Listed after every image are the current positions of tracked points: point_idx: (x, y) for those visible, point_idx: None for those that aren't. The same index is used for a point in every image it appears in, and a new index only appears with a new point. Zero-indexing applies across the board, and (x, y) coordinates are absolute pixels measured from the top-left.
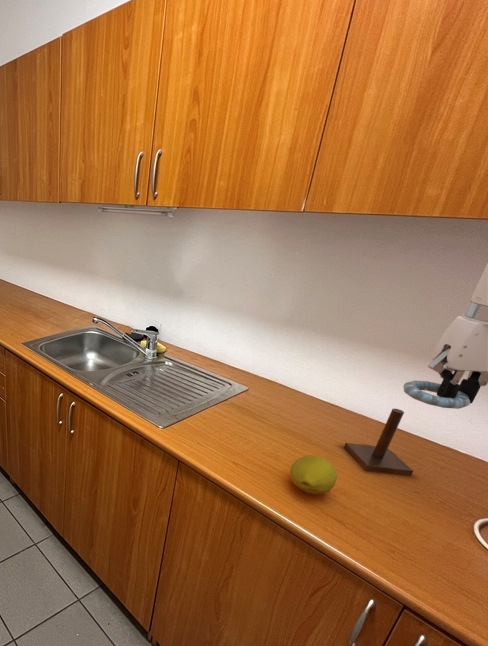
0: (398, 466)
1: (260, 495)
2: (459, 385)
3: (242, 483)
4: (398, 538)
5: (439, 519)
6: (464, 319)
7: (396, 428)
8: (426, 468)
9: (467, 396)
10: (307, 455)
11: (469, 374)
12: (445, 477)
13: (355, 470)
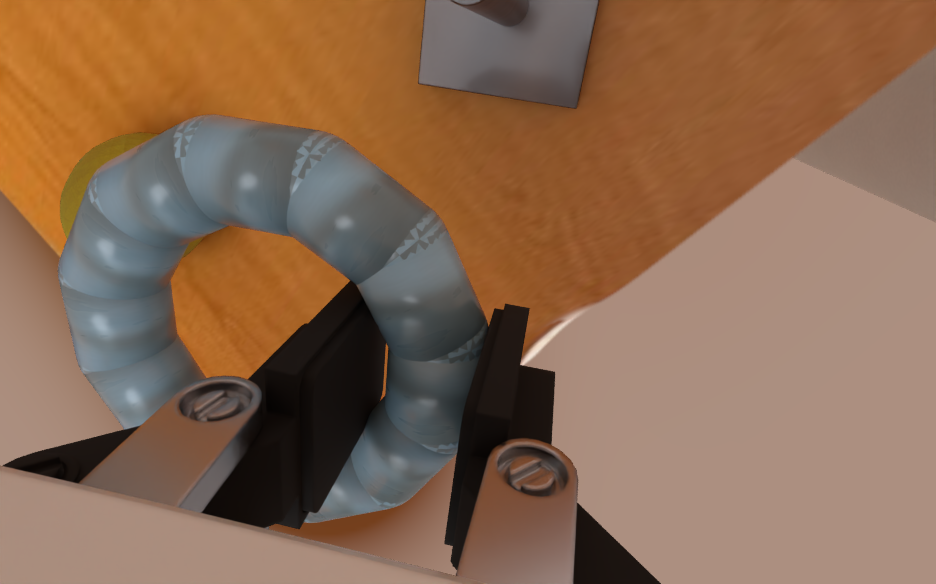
0: (539, 80)
1: (53, 222)
2: (289, 525)
3: (12, 173)
4: None
5: (481, 305)
6: None
7: (496, 13)
8: (694, 47)
9: (429, 468)
10: (95, 160)
11: (480, 502)
12: (714, 106)
13: (387, 82)
